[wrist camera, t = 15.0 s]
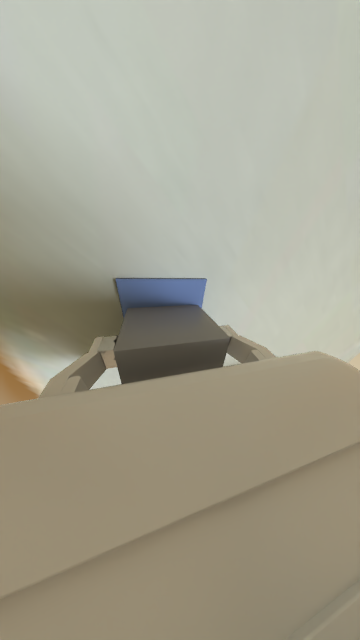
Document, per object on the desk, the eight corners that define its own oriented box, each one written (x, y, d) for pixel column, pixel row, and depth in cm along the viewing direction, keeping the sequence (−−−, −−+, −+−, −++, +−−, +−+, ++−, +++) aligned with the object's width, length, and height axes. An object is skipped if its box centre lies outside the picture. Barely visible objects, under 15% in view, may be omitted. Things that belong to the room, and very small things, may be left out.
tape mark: (116, 278, 11) (115, 279, 10) (205, 278, 12) (206, 279, 12) (130, 347, 15) (130, 348, 15) (194, 340, 17) (195, 341, 17)
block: (127, 307, 12) (113, 351, 7) (196, 304, 14) (230, 337, 8) (136, 361, 15) (131, 420, 10) (191, 353, 17) (213, 401, 12)
